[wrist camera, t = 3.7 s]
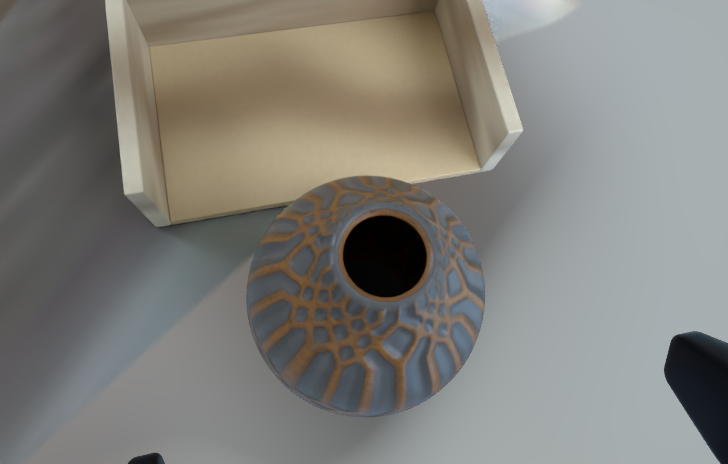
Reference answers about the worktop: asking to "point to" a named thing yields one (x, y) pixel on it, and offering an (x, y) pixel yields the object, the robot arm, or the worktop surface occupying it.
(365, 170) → the shoe shelf
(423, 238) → the vase
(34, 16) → the worktop surface
